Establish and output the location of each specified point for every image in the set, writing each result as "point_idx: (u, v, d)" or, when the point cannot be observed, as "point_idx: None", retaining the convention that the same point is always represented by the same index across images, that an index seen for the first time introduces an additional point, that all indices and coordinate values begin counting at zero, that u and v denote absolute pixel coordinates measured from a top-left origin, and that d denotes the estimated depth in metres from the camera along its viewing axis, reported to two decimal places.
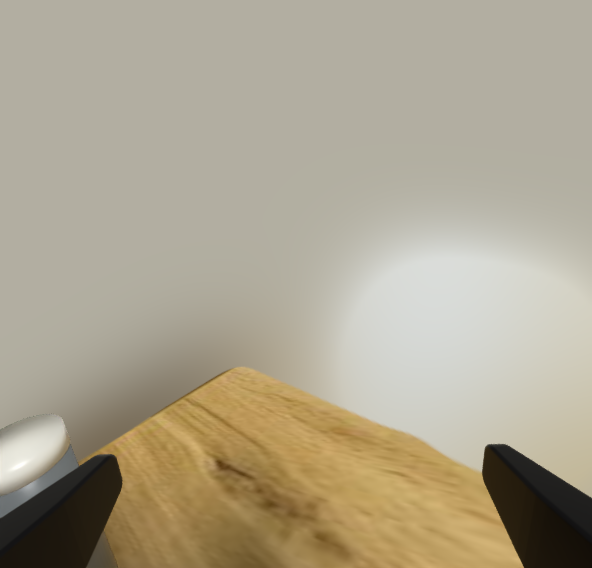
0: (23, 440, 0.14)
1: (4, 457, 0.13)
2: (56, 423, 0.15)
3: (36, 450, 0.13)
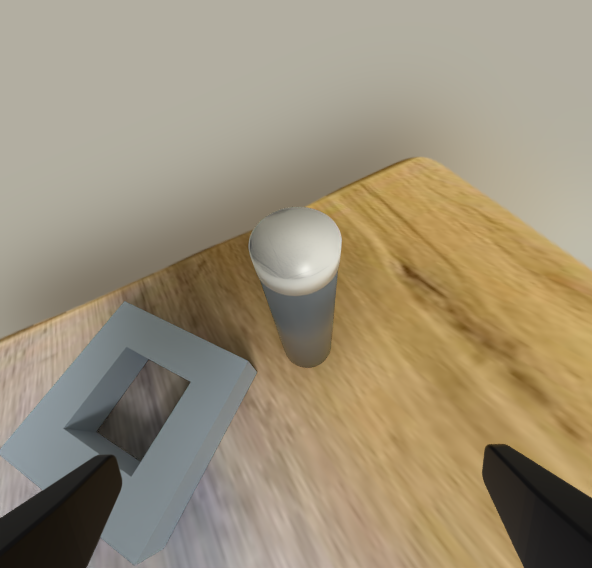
0: (302, 240, 0.11)
1: (294, 259, 0.11)
2: (330, 227, 0.12)
3: (326, 261, 0.11)
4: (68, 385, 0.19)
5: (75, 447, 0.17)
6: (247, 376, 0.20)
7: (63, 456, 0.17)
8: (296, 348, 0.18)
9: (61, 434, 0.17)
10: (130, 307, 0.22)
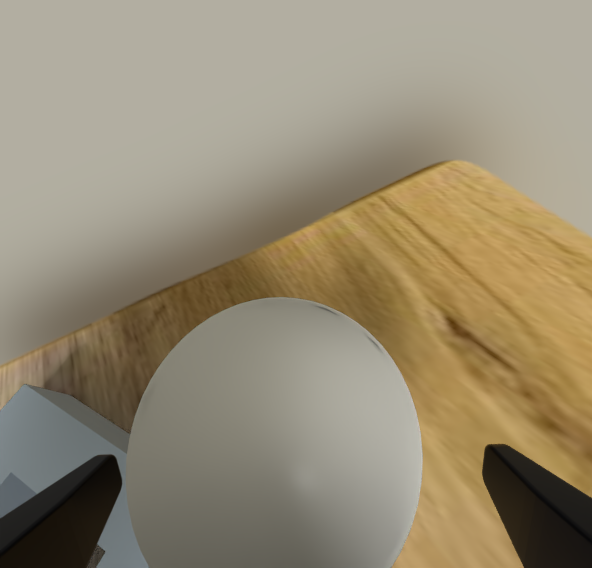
0: (296, 425, 0.04)
1: (266, 517, 0.03)
2: (380, 375, 0.04)
3: (379, 535, 0.03)
4: None
5: None
6: None
7: None
8: None
9: None
10: (31, 395, 0.14)
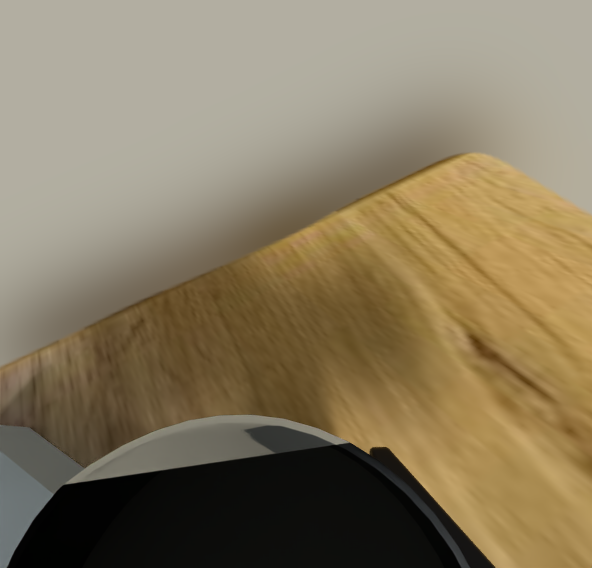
0: None
1: None
2: None
3: None
4: None
5: None
6: None
7: None
8: None
9: None
10: None
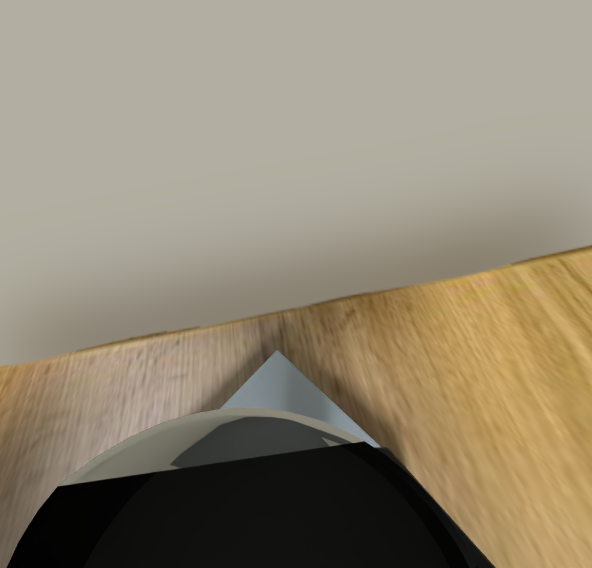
0: None
1: None
2: None
3: None
4: None
5: None
6: None
7: None
8: None
9: None
10: (283, 360, 0.19)
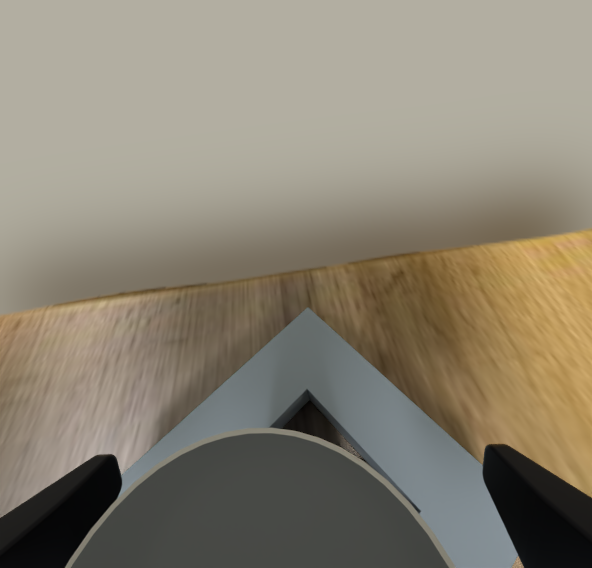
0: None
1: None
2: None
3: None
4: (214, 420, 0.12)
5: None
6: None
7: None
8: None
9: None
10: (316, 320, 0.14)
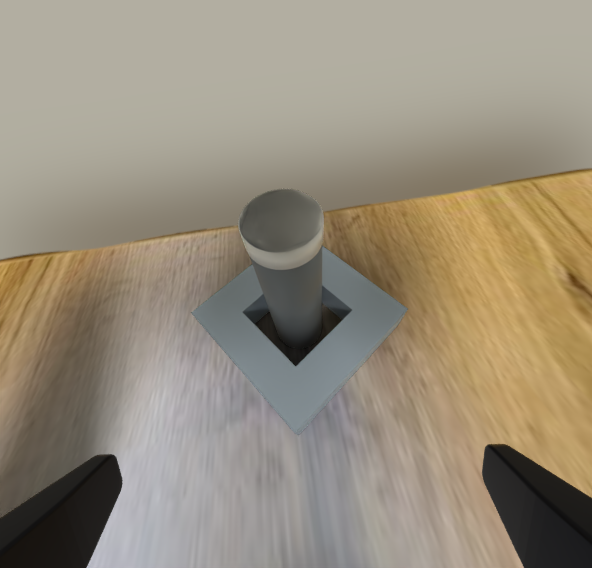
0: (287, 218, 0.12)
1: (280, 235, 0.12)
2: (314, 206, 0.13)
3: (309, 236, 0.12)
4: (247, 280, 0.22)
5: (251, 329, 0.20)
6: (397, 323, 0.21)
7: (241, 332, 0.20)
8: (287, 327, 0.19)
9: (240, 315, 0.21)
10: None
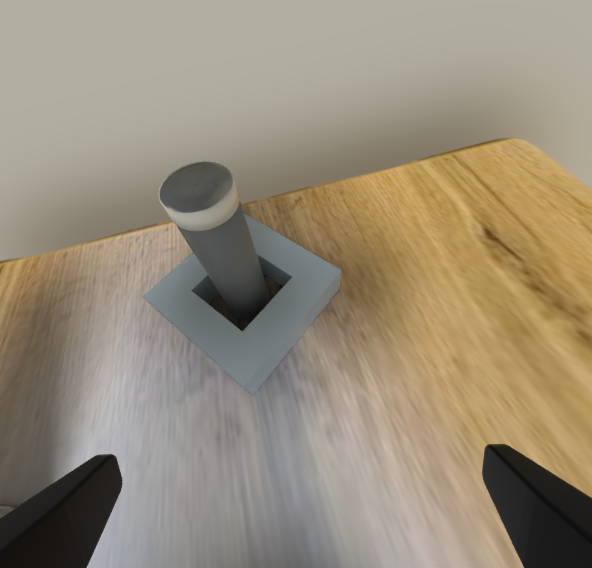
0: (202, 185, 0.14)
1: (195, 199, 0.14)
2: (225, 173, 0.14)
3: (220, 197, 0.14)
4: (195, 262, 0.24)
5: (200, 304, 0.22)
6: (335, 285, 0.23)
7: (191, 308, 0.21)
8: (231, 296, 0.20)
9: (189, 294, 0.22)
10: (245, 216, 0.26)
